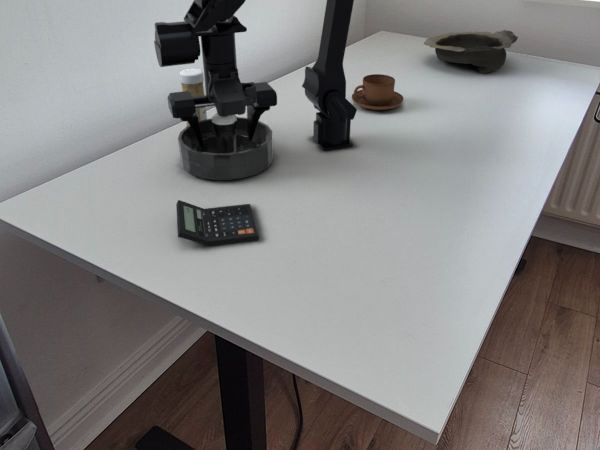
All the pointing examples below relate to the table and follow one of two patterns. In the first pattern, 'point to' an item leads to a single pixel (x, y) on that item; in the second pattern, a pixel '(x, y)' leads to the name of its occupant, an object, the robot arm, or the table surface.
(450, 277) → the table surface
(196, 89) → the sprinkles bottle
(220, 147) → the milkshake
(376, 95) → the cup and saucer
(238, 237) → the calculator
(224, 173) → the dark round bowl
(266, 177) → the table surface
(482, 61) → the stone bowl
